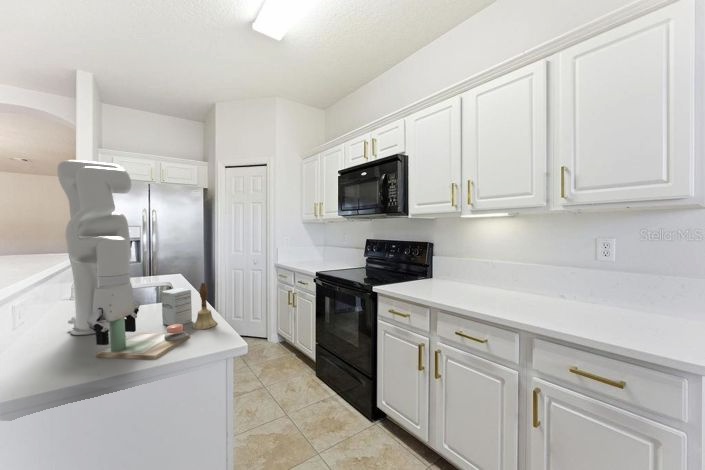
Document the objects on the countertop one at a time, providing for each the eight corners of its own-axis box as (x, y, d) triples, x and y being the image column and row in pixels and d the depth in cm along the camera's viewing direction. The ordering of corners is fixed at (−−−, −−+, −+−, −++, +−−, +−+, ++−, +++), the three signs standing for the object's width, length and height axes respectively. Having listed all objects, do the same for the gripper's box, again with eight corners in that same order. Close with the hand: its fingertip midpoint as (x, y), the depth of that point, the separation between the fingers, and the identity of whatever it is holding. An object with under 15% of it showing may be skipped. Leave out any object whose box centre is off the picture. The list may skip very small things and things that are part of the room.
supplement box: (161, 324, 115) (160, 291, 114) (180, 318, 121) (179, 287, 120) (173, 327, 111) (172, 293, 110) (192, 321, 118) (191, 289, 117)
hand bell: (187, 328, 110) (185, 285, 109) (202, 321, 118) (200, 280, 117) (207, 330, 109) (206, 285, 108) (221, 322, 117) (220, 281, 116)
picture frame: (96, 357, 88) (95, 350, 88) (138, 335, 104) (138, 329, 103) (155, 358, 86) (155, 352, 86) (189, 336, 102) (189, 331, 102)
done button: (163, 333, 97) (163, 328, 97) (172, 328, 102) (172, 323, 102) (177, 333, 97) (177, 329, 97) (186, 328, 101) (186, 324, 101)
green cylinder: (106, 351, 89) (104, 313, 88) (117, 346, 92) (115, 309, 92) (119, 351, 88) (117, 313, 88) (129, 346, 92) (127, 309, 91)
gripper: (126, 274, 98) (128, 327, 99) (73, 287, 81) (77, 350, 82) (148, 275, 97) (150, 327, 98) (100, 287, 80) (103, 350, 81)
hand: (117, 337), depth 90 cm, fingers open, 9 cm apart
